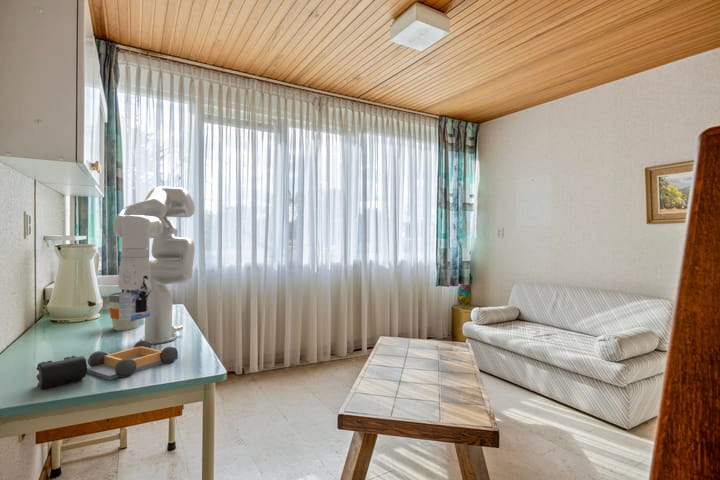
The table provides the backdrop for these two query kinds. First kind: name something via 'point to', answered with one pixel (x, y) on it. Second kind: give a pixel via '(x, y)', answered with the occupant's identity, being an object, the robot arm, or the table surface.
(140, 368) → the chassis
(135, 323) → the reusable coffee cup
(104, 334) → the table surface
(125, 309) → the medicine box
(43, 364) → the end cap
